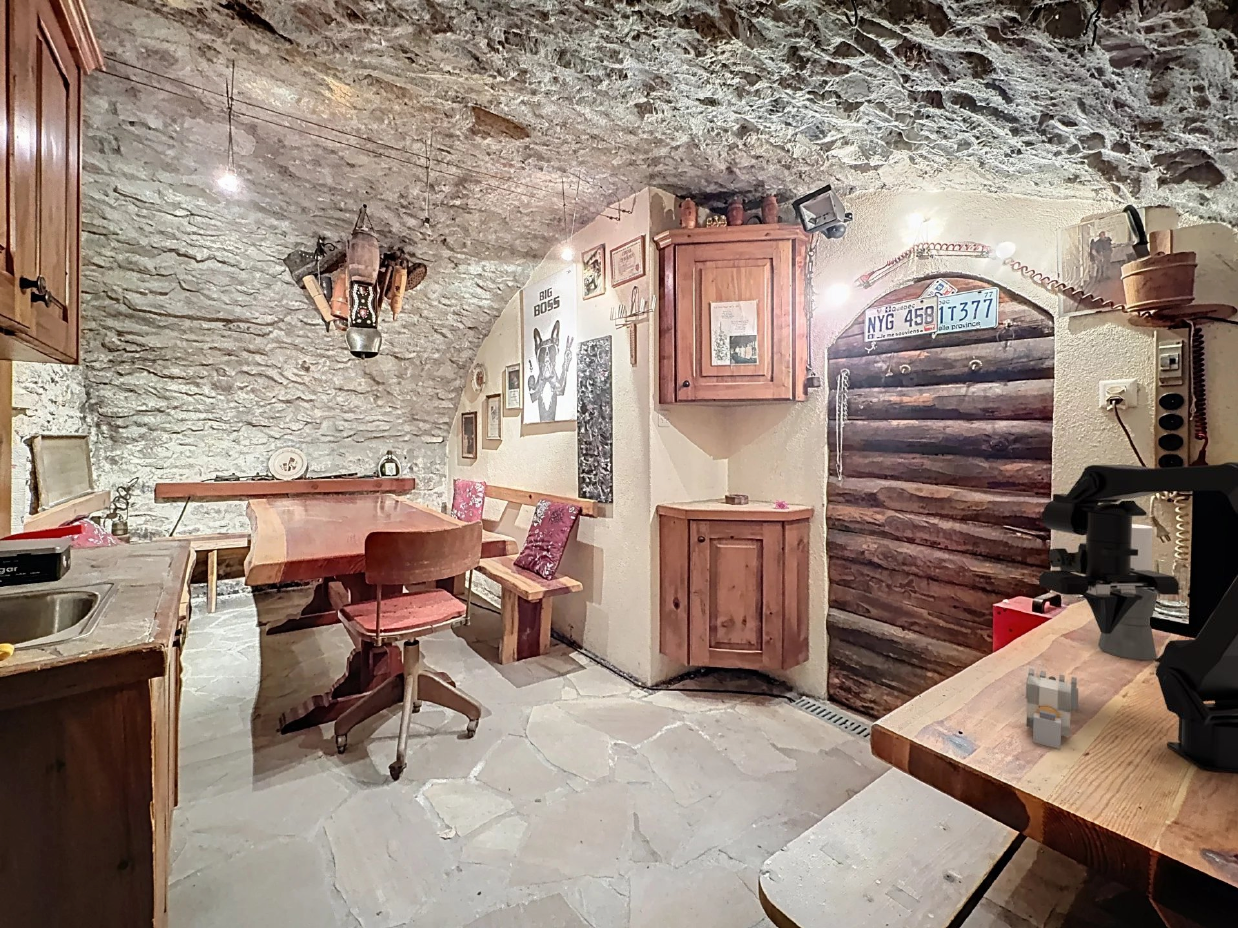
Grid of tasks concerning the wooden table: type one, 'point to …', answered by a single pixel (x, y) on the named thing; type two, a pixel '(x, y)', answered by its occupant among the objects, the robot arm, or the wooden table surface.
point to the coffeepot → (1133, 630)
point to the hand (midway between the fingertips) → (1105, 633)
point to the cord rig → (1051, 716)
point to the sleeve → (1049, 700)
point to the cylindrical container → (1142, 547)
